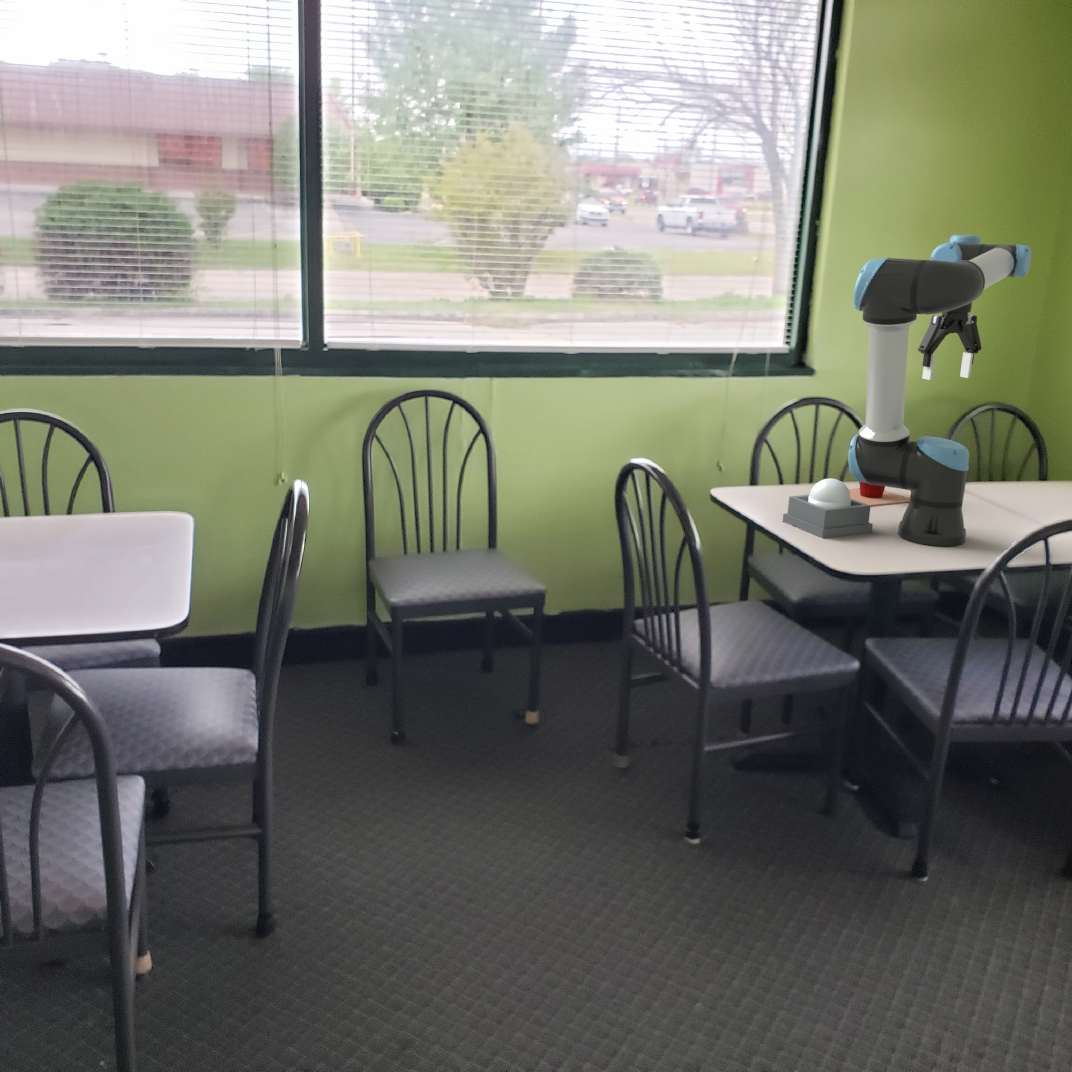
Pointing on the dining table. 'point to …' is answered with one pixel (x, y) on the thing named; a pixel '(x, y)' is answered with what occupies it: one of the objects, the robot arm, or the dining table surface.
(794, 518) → the dome housing
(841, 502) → the dome
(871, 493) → the plastic cup
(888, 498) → the mat
